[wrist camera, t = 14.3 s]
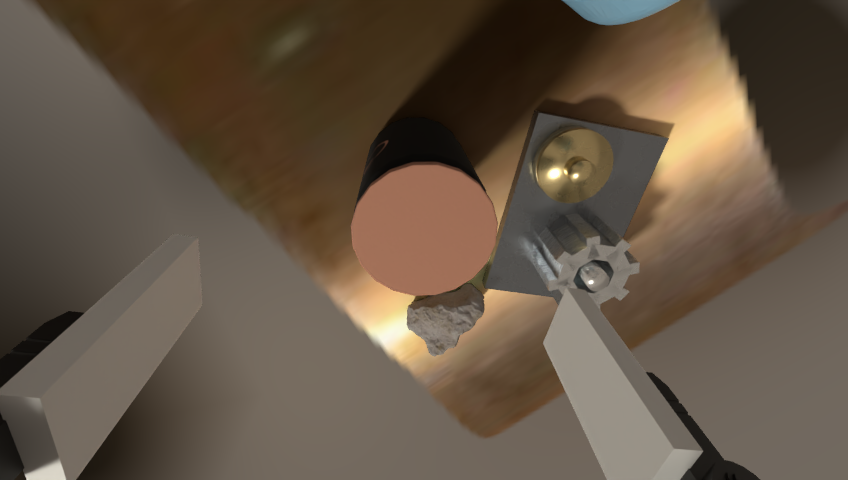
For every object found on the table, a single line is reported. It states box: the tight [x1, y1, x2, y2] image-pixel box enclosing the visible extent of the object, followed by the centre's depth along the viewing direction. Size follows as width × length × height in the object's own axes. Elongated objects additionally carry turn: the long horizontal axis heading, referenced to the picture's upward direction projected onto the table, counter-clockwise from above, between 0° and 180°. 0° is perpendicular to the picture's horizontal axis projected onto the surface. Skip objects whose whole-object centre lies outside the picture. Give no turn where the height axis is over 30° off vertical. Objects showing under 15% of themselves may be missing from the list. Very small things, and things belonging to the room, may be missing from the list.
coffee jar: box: [351, 118, 498, 296], centre depth 37 cm, size 11×11×18 cm
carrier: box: [483, 110, 669, 297], centre depth 45 cm, size 22×15×8 cm
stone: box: [407, 283, 484, 356], centre depth 51 cm, size 10×8×6 cm
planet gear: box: [532, 213, 640, 309], centre depth 47 cm, size 10×10×6 cm
